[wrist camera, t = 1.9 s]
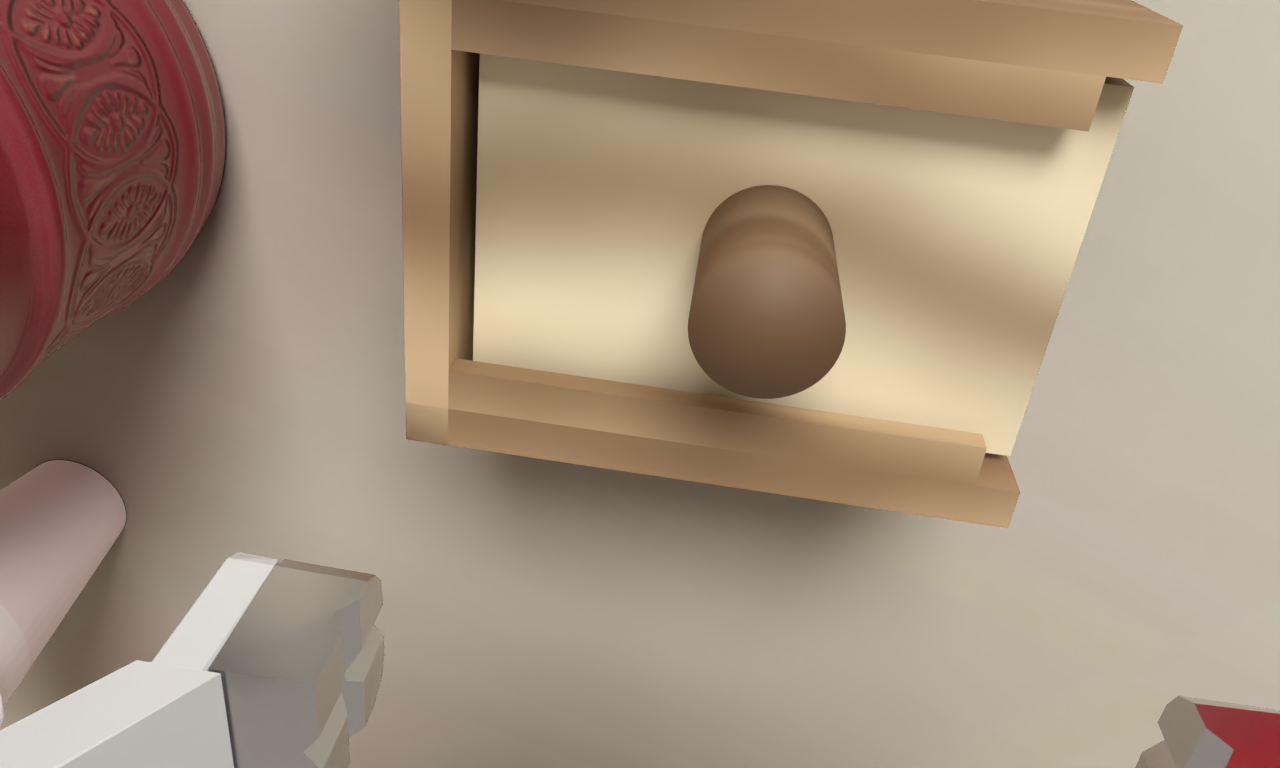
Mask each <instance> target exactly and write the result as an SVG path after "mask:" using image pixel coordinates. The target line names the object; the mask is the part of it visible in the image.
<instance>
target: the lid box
mask: <svg viewBox="0 0 1280 768" xmlns="http://www.w3.org/2000/svg"><path fill="white" fill-rule="evenodd" d="M399 19H400V82H401V146H402V209H403V273H404V337H405V400H406V439H409V440H416V441H423V442H429V443H436V444H443V445H450V446H456V447H463V448H470V449H477V450H483V451H490V452H497V453H504V454H510V455H517V456H524V457H531V458H537V459H544V460H551V461H558V462H564V463H571V464H578V465H585V466H591V467H598V468H605V469H612V470H618V471H625V472H632V473H639V474H645V475H652V476H659V477H666V478H672V479H679V480H686V481H693V482H699V483H706V484H713V485H720V486H726V487H733V488H740V489H747V490H753V491H760V492H767V493H774V494H780V495H787V496H794V497H801V498H807V499H814V500H821V501H828V502H834V503H841V504H848V505H855V506H861V507H868V508H875V509H882V510H888V511H895V512H902V513H909V514H915V515H922V516H929V517H936V518H942V519H949V520H956V521H963V522H969V523H976V524H983V525H990V526H996V527H1003V528H1008V526H1009V523H1010V520H1011V517H1012V514H1013V512H1014V509H1015V506H1016V503H1017V500H1018V497H1019V494H1020V491H1019V488H1018V485H1017V483H1016V480H1015V477H1014V475H1013V472H1012V469H1011V466H1010V464H1009V461H1008V458H1007V456H1005V455H998V454H991V453H986V450H987V447H986V444H985V441H984V438H983V435H982V434H978V433H971V432H964V431H957V430H950V429H944V428H937V427H930V426H923V425H916V424H909V423H902V422H895V421H888V420H881V419H874V418H867V417H860V416H853V415H846V414H839V413H832V412H825V411H818V410H811V409H804V408H798V407H791V406H784V405H777V404H770V403H763V402H756V401H749V400H742V399H735V398H728V397H721V396H714V395H707V394H700V393H693V392H686V391H679V390H672V389H665V388H658V387H651V386H645V385H638V384H631V383H624V382H617V381H610V380H603V379H596V378H589V377H582V376H575V375H568V374H561V373H554V372H547V371H540V370H533V369H526V368H519V367H512V366H505V365H498V364H492V363H485V362H478V361H473V333H474V287H475V241H476V195H477V149H478V104H479V58H480V53H481V54H489V55H496V56H504V57H512V58H520V59H528V60H535V61H543V62H551V63H559V64H567V65H574V66H582V67H590V68H598V69H605V70H613V71H621V72H629V73H637V74H644V75H652V76H660V77H668V78H675V79H683V80H691V81H699V82H707V83H714V84H722V85H730V86H738V87H746V88H753V89H761V90H769V91H777V92H784V93H792V94H800V95H808V96H816V97H823V98H831V99H839V100H847V101H855V102H862V103H870V104H878V105H886V106H893V107H901V108H909V109H917V110H925V111H932V112H940V113H948V114H956V115H963V116H971V117H979V118H987V119H995V120H1002V121H1010V122H1018V123H1026V124H1034V125H1041V126H1049V127H1057V128H1065V129H1072V130H1080V131H1088V132H1089V129H1090V126H1091V123H1092V120H1093V117H1094V113H1095V110H1096V107H1097V104H1098V101H1099V98H1100V95H1101V92H1102V88H1103V85H1104V82H1105V79H1106V77H1114V78H1122V79H1130V80H1138V81H1146V82H1153V83H1161V84H1163V82H1164V79H1165V76H1166V73H1167V70H1168V67H1169V64H1170V62H1171V59H1172V56H1173V53H1174V50H1175V47H1176V44H1177V42H1178V39H1179V36H1180V33H1181V30H1182V27H1183V25H1181V24H1179V23H1177V22H1175V21H1173V20H1170V19H1168V18H1166V17H1164V16H1162V15H1160V14H1158V13H1156V12H1154V11H1152V10H1150V9H1148V8H1146V7H1144V6H1142V5H1140V4H1138V3H1136V2H1134V1H1132V0H399Z"/></svg>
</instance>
